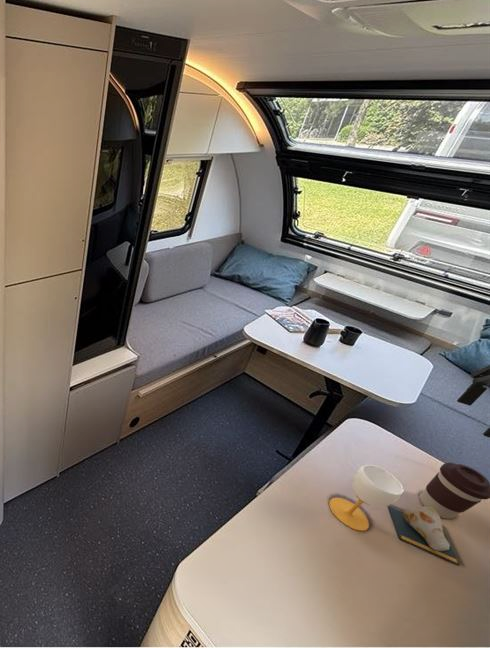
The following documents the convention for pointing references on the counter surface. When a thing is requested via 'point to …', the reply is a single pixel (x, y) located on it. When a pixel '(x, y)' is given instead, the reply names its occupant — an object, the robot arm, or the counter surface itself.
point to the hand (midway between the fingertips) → (476, 419)
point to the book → (418, 537)
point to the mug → (427, 526)
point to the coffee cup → (455, 490)
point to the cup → (367, 495)
